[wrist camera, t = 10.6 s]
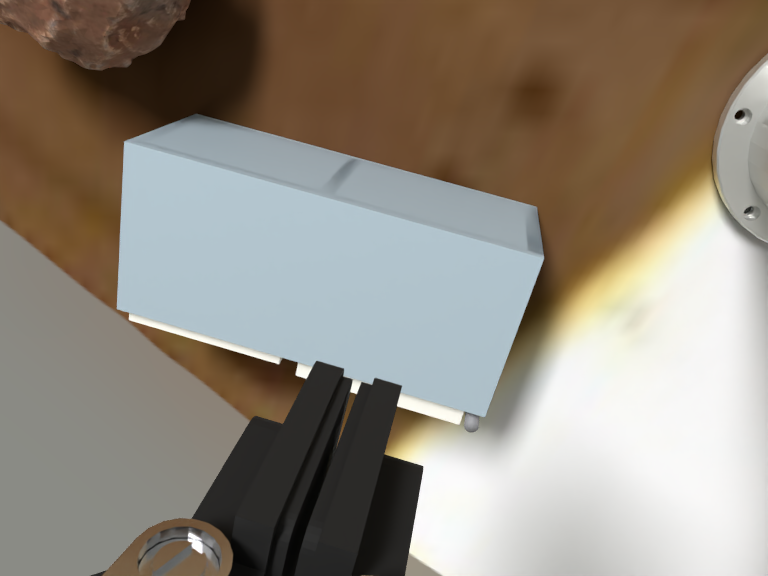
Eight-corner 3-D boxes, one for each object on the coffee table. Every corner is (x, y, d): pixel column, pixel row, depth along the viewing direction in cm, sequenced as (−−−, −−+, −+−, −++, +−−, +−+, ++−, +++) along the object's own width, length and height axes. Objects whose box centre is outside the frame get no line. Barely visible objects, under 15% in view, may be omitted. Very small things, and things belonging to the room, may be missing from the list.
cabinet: (536, 206, 39) (544, 258, 31) (480, 366, 44) (475, 443, 37) (196, 113, 40) (124, 141, 33) (180, 279, 46) (115, 336, 38)
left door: (484, 351, 43) (480, 421, 36) (474, 379, 44) (468, 453, 37) (330, 305, 44) (295, 365, 37) (323, 334, 45) (289, 398, 38)
